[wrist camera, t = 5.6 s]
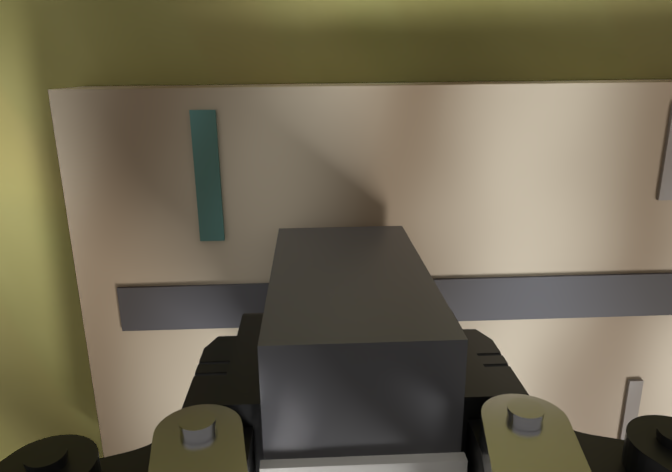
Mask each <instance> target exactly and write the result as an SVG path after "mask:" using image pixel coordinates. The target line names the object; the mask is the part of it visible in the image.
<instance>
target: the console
mask: <svg viewBox="0 0 672 472" xmlns="http://www.w3.org/2000/svg"><path fill="white" fill-rule="evenodd" d="M48 94H49V101H50V107H51V114H52V120H53V127H54V134H55V140H56V147H57V153H58V160H59V166H60V173H61V179H62V186H63V193H64V199H65V206H66V212H67V219H68V225H69V232H70V238H71V245H72V251H73V258H74V265H75V271H76V278H77V284H78V291H79V297H80V304H81V310H82V317H83V323H84V330H85V337H86V343H87V350H88V356H89V363H90V369H91V376H92V382H93V389H94V396H95V402H96V409H97V415H98V422H99V428H100V435H101V441H102V448H103V454H104V457H108V456H112V455H117V454H121V453H125V452H129V451H132V450H136V449H139V448H142V447H144V446H147V445H149V444H151V443H152V438H153V433H154V430H155V428H156V427H157V425H158V424H159V423H160V422H161V421H162V420H163V419H164V418H165V417H167V416H168V415H170V414H171V413H173V412H175V411H178V410H180V409H182V406H183V404H184V401H185V398H186V395H187V393H188V390H189V387H190V385H191V382H192V379H193V377H194V376H195V371H196V369H197V366H198V365H199V360H200V358H201V355H202V352H203V350H204V348H205V347H206V346H207V345H209V344H210V343H211V342H212V341H213V340H214V339H216V338H217V337H218V336H237V333H238V330H239V326H240V322H241V318H242V315H243V313H264V308H265V302H266V297H267V291H268V286H269V280H270V275H271V269H272V264H273V258H274V253H275V247H276V242H277V236H278V231H279V228H323V227H368V226H403V228H404V230H405V232H406V233H407V235H408V237H409V239H410V240H411V242H412V244H413V245H414V247H415V249H416V251H417V252H418V254H419V256H420V258H421V259H422V261H423V263H424V264H425V266H426V268H427V270H428V271H429V273H430V275H431V277H432V278H433V280H434V282H435V283H436V285H437V287H438V289H439V290H440V292H441V294H442V296H443V297H444V299H445V301H446V302H447V304H448V306H449V308H450V309H451V310H452V312H453V314H454V315H455V317H456V319H457V320H458V322H459V324H460V326H461V327H462V329H476V330H478V331H479V332H481V333H483V334H484V335H486V336H487V337H489V338H490V339H492V340H493V342H494V343H495V345H496V346H497V348H498V349H499V351H500V352H501V355H503V357H504V358H505V360H506V361H507V363H508V366H510V367H511V369H512V370H513V372H514V373H515V375H516V376H517V378H518V379H519V381H520V382H521V384H522V385H523V387H524V388H525V390H526V391H527V393H528V394H529V395H530V396H534V397H537V398H541V399H543V400H546V401H548V402H550V403H552V404H554V405H555V406H557V407H558V408H559V409H561V410H562V411H563V412H564V413H565V414H566V416H567V417H568V419H569V421H570V423H571V425H572V428H573V430H575V431H578V432H582V433H586V434H591V435H597V436H603V437H609V438H615V439H621V440H624V439H625V433H626V427H627V425H628V423H629V422H630V421H631V420H632V419H634V418H636V417H640V416H644V415H664V416H670V417H672V79H664V80H580V81H497V82H413V83H330V84H246V85H162V86H81V87H70V88H60V89H50V90H48Z"/></svg>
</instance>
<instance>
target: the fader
mask: <svg viewBox="0 0 672 472" xmlns="http://www.w3.org/2000/svg"><path fill="white" fill-rule="evenodd" d="M257 347H258V365H259V383H260V401H261V419H262V436H263V454H264V460H260V468H259V471H260V472H467V463H468V460H467V458H466V455H465V453H464V452H461V443H462V427H463V412H464V396H465V380H466V365H467V349H468V339H467V337H466V335H465V334H464V332H463V330H462V328H461V327H460V325H459V323H458V321H457V320H456V318H455V316H454V315H453V313H452V311H451V309H450V308H449V306H448V304H447V302H446V301H445V299H444V297H443V296H442V294H441V292H440V290H439V289H438V287H437V285H436V283H435V282H434V280H433V278H432V277H431V275H430V273H429V271H428V270H427V268H426V266H425V264H424V263H423V261H422V259H421V258H420V256H419V254H418V252H417V251H416V249H415V247H414V245H413V244H412V242H411V240H410V239H409V237H408V235H407V233H406V232H405V230H404V228H403V226H368V227H323V228H279V231H278V236H277V242H276V247H275V253H274V258H273V264H272V269H271V275H270V280H269V286H268V291H267V297H266V302H265V308H264V313H263V319H262V324H261V330H260V335H259V340H258V346H257Z"/></svg>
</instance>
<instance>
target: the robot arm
mask: <svg viewBox="0 0 672 472" xmlns="http://www.w3.org/2000/svg"><path fill="white" fill-rule="evenodd" d="M451 311H452V310H451ZM452 313H453V312H452ZM453 315H454V314H453ZM454 316H455V315H454ZM455 318H456V317H455ZM262 319H263V313H243V315H242V318H241V322H240V326H239V330H238V333H237V336H218V337H217V338H216V339H214V340H213V341H212V342H211V343H210V344H209V345H207V346H206V347H205V348H204V350H203V352H202V355H201V358H200V360H199V365H198V366H197V369H196V371H195V376H194V377H193V379H192V382H191V385H190V387H189V390H188V393H187V395H186V398H185V401H184V404H183V406H182V409H180V410H178V411H175V412H173V413H171V414H170V415H168V416H167V417H165V418H164V419H163V420H162V421H161V422H160V423H159V424H158V425H157V427H156V428H155V430H154V433H153V438H152V443H151V444H149V445H147V446H144V447H142V448H139V449H136V450H132V451H129V452H125V453H121V454H117V455H112V456H108V457H104V458H99V452H98V448H97V445H96V444H95V443H94V442H93V441H92V440H91V439H89V438H87V437H84V436H79V435H58V436H52V437H48V438H44V439H41V440H38V441H35V442H33V443H30V444H28V445H26V446H24V447H22V448H20V449H18V450H17V451H15V452H14V453H12V454H11V455H9V456H8V457H6V458H5V459H4V460H2V461H1V462H0V472H260V471H259V468H260V460H264V454H263V436H262V419H261V401H260V383H259V365H258V347H257V346H258V340H259V335H260V330H261V324H262ZM456 320H457V319H456ZM457 321H458V320H457ZM458 323H459V322H458ZM459 325H460V324H459ZM460 327H461V326H460ZM461 328H462V327H461ZM462 330H463V332H464V334H465V335H466V337H467V339H468V349H467V365H466V380H465V396H464V412H463V427H462V443H461V452H464V453H465V455H466V458H467V460H468V463H467V472H672V417H670V416H664V415H644V416H640V417H636V418H634V419H632V420H631V421H630V422H629V423H628V425H627V427H626V433H625V439H624V440H621V439H615V438H609V437H603V436H597V435H591V434H586V433H582V432H578V431H575V430H573V428H572V425H571V423H570V421H569V419H568V417H567V416H566V414H565V413H564V412H563V411H562V410H561V409H559V408H558V407H557V406H555V405H554V404H552V403H550V402H548V401H546V400H543V399H541V398H537V397H534V396H530V395H529V394H528V393H527V391H526V390H525V388H524V387H523V385H522V384H521V382H520V381H519V379H518V378H517V376H516V375H515V373H514V372H513V370H512V369H511V367H510V366H508V363H507V361H506V360H505V358H504V357H503V355H501V352H500V351H499V349H498V348H497V346H496V345H495V343H494V342H493V340H492V339H490V338H489V337H487V336H486V335H484V334H483V333H481V332H479V331H478V330H476V329H462Z"/></svg>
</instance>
